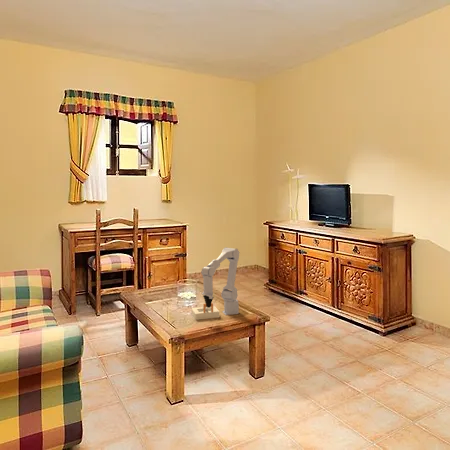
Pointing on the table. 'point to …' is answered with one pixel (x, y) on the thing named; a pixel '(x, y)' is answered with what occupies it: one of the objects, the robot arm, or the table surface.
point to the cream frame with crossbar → (200, 314)
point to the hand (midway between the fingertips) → (208, 307)
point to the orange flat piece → (206, 306)
